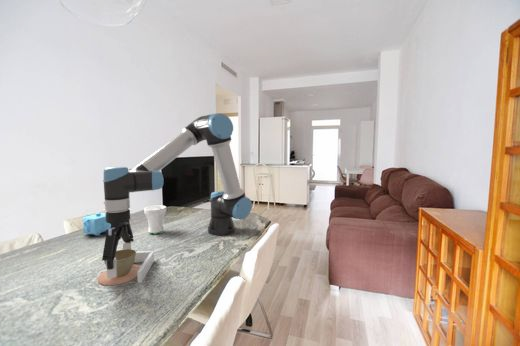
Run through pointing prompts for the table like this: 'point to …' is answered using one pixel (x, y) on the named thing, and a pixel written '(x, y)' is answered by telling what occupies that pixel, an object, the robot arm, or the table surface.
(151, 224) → the cup
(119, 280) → the coaster
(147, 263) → the acrylic walls
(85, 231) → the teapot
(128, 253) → the flower pot
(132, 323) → the table surface
